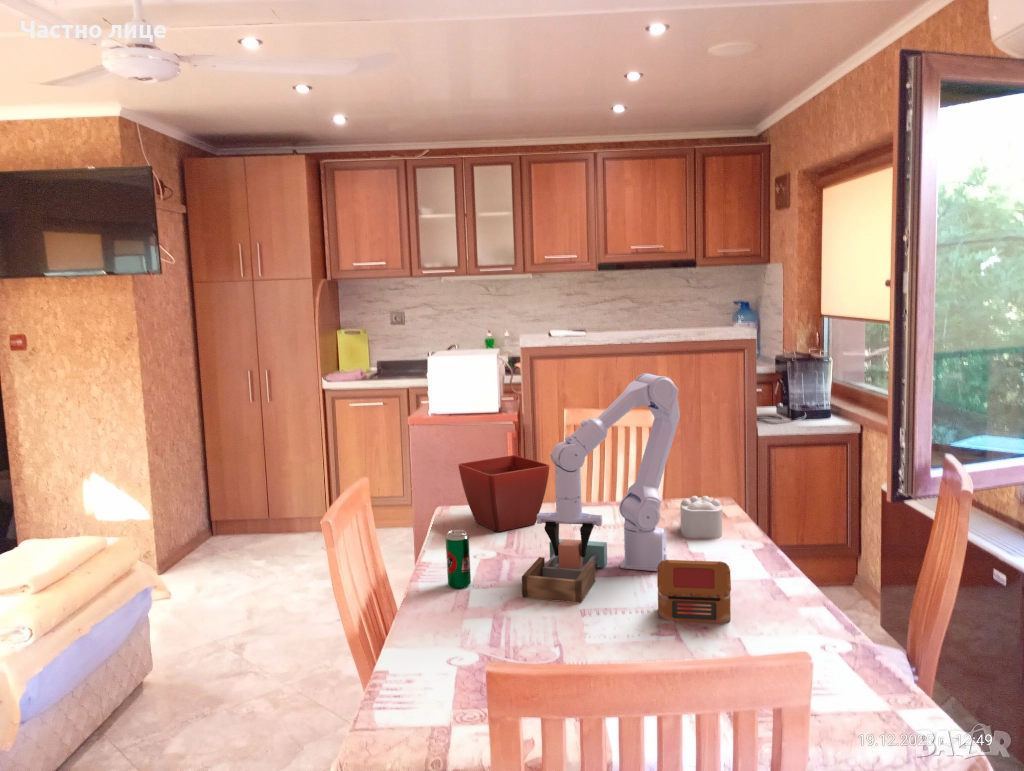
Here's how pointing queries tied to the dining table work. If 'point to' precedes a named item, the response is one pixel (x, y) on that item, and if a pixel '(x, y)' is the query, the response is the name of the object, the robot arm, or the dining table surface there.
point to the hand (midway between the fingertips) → (570, 555)
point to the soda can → (458, 559)
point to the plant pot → (504, 490)
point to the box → (694, 591)
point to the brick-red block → (570, 554)
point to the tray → (593, 553)
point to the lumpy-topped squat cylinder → (701, 518)
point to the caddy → (557, 584)
